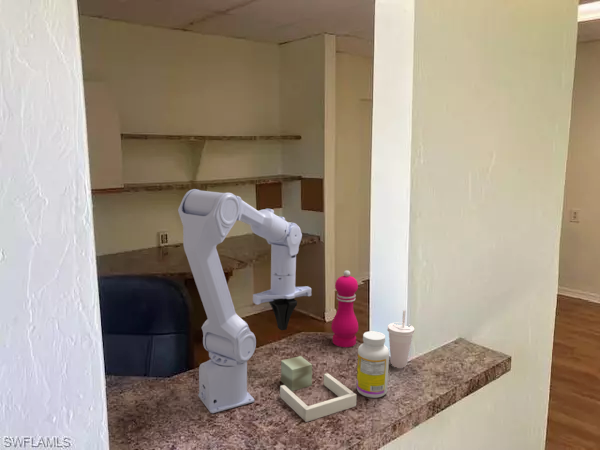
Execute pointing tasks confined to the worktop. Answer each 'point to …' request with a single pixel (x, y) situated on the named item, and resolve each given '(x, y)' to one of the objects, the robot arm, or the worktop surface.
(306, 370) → the block
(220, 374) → the robot arm
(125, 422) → the worktop surface
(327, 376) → the block
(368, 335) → the supplement bottle
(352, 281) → the pepper mill
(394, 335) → the smoothie
